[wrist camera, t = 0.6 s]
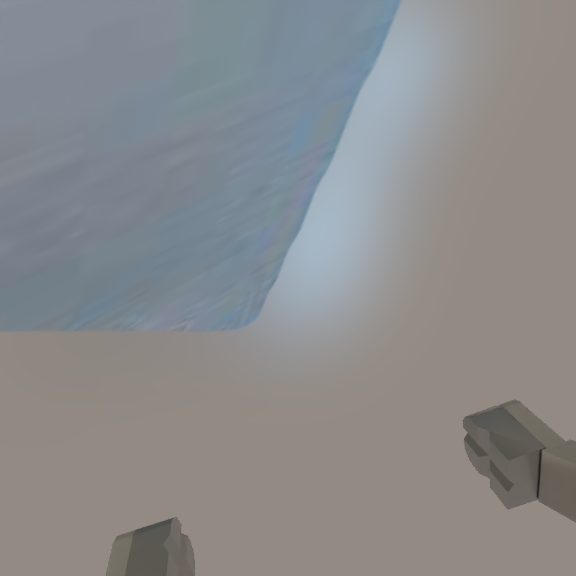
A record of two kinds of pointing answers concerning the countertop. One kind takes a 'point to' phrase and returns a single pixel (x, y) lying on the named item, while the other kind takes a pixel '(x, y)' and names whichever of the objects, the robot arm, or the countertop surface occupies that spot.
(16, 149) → the countertop surface
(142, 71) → the countertop surface
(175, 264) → the countertop surface
